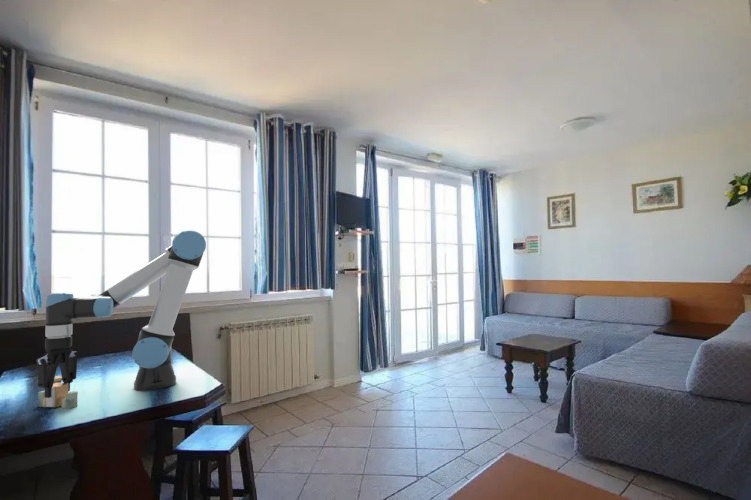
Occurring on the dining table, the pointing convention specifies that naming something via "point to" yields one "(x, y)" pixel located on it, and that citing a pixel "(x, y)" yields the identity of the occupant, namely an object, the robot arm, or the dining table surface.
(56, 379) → the bobbin
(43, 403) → the pair of stepped blocks
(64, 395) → the tan tall block
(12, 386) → the dining table surface
